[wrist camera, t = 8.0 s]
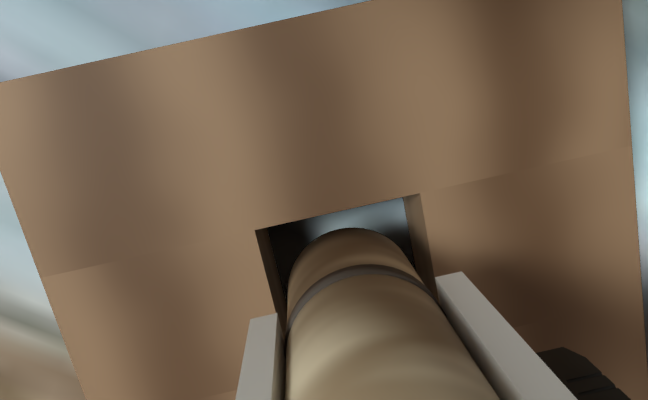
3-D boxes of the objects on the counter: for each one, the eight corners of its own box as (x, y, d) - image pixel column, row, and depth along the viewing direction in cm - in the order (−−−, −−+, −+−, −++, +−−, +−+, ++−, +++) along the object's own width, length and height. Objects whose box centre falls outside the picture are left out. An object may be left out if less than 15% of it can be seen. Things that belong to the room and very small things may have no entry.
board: (559, -29, 19) (618, -55, 15) (599, 389, 23) (652, 443, 19) (29, 88, 18) (-31, 89, 15) (168, 487, 23) (145, 558, 19)
